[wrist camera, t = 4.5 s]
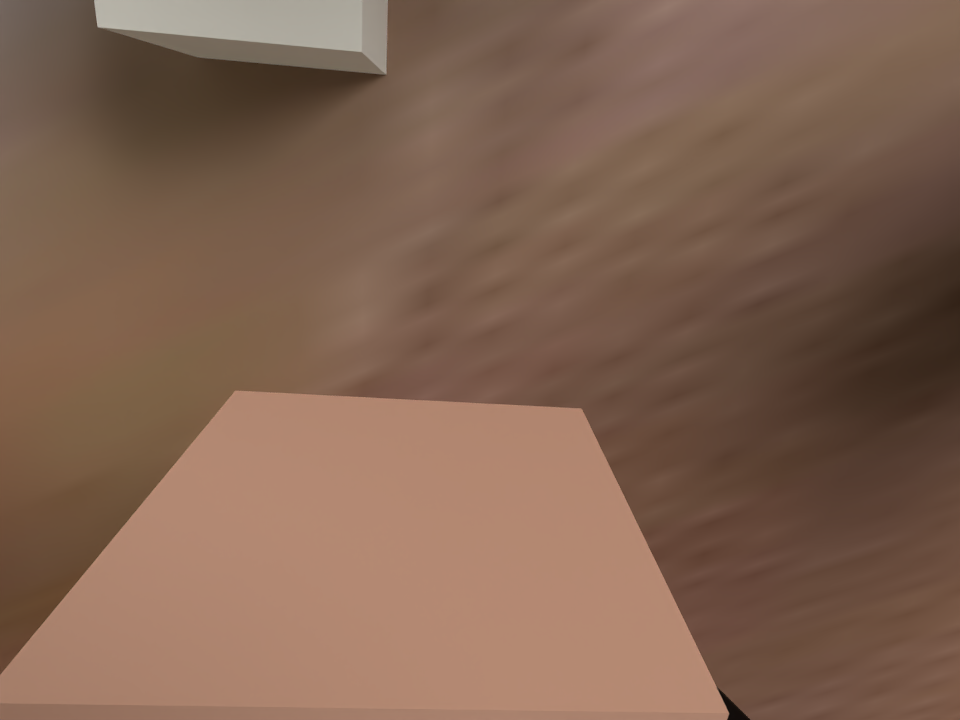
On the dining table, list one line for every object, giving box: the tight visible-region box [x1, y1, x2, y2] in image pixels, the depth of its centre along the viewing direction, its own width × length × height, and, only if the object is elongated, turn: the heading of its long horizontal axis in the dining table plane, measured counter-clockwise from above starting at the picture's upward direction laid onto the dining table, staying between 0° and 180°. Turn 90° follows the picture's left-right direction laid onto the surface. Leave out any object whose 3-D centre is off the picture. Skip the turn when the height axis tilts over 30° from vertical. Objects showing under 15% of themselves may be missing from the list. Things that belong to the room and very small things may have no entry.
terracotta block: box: [0, 391, 729, 720], centre depth 7 cm, size 5×5×5 cm
